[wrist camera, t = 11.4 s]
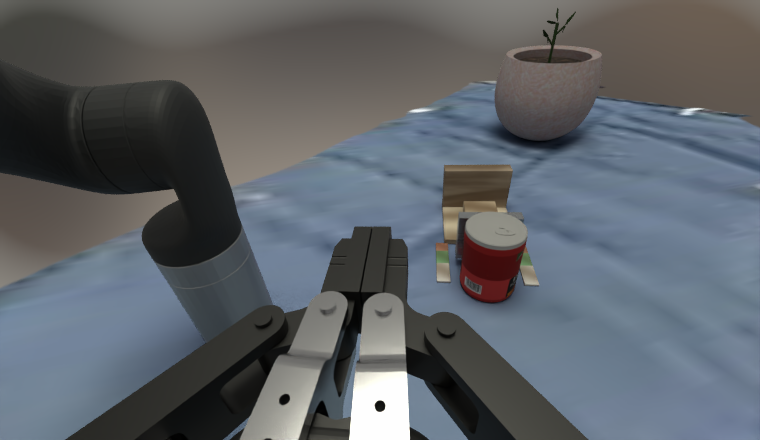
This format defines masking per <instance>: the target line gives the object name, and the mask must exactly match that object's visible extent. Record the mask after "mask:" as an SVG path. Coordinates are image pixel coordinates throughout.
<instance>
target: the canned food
mask: <svg viewBox="0 0 760 440" xmlns="http://www.w3.org/2000/svg"><path fill="white" fill-rule="evenodd" d="M527 234H528V232H527V228H526V226H525V225H524V224H523V223H522V222H521V221H520V220H518V219H517V218H515V217H513V216H511V215H508V214H505V213H500V212H482V213H478V214H475V215H473V216H471V217H470V218H469V219H468V220H467V222H466V225H465V232H464V240H463V250H462V260H461V270H460V282H461V285H462V287H463V289H464V290H465V292H466V293H467V294H468V295H470V296H471V297H473V298H475V299H477V300H480V301H483V302H491V303H494V302H500V301H503V300H505V299H507V298H508V297H509V296H510V295H511V294H512V292H513V291H514V288H515V284H516V280H517V276H518V272H519V268H520V264H521V261H522V257H523V253H524V249H525V245H526V240H527Z"/></svg>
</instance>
